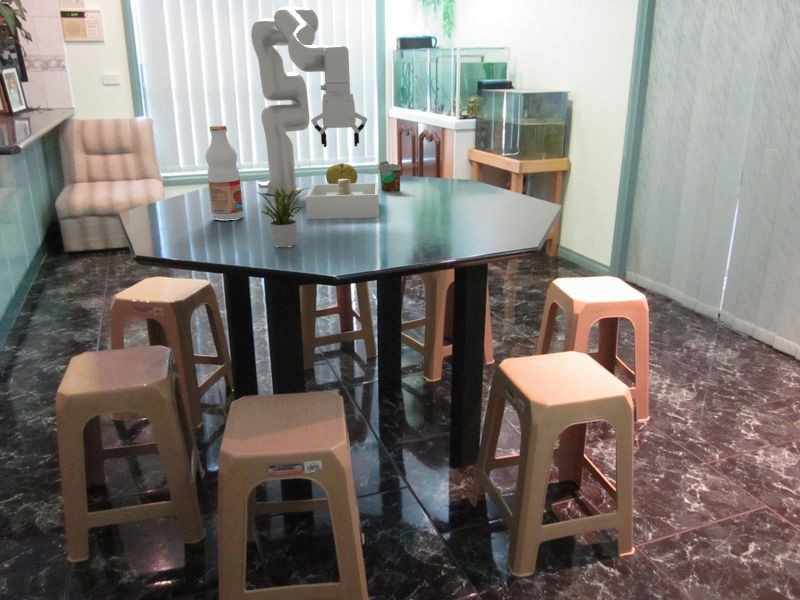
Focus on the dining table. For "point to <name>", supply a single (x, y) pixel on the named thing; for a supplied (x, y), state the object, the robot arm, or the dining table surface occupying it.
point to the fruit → (341, 173)
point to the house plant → (283, 218)
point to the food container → (389, 176)
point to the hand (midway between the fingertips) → (340, 146)
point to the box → (343, 201)
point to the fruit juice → (223, 176)
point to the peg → (344, 187)
